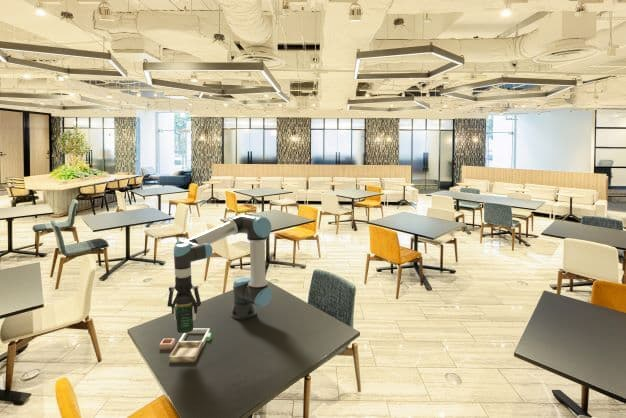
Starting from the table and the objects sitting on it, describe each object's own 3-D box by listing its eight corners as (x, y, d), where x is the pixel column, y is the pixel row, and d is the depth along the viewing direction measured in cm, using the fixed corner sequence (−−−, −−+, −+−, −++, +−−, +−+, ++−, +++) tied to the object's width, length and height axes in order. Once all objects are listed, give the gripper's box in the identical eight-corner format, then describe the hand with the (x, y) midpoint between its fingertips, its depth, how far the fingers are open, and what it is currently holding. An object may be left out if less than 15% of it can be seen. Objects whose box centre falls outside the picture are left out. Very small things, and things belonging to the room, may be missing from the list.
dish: (175, 343, 196) (175, 338, 196) (171, 349, 190) (171, 344, 190) (163, 343, 196) (163, 338, 196) (159, 349, 190) (159, 344, 190)
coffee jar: (194, 332, 181) (192, 296, 178) (176, 335, 179) (175, 298, 176) (193, 323, 190) (192, 289, 187) (177, 326, 188) (175, 291, 185)
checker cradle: (213, 332, 209) (213, 328, 209) (207, 346, 194) (207, 341, 194) (186, 332, 208) (186, 328, 208) (178, 346, 194) (178, 342, 193)
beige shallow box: (202, 346, 194) (202, 341, 193) (195, 362, 180) (195, 356, 179) (178, 346, 193) (178, 341, 193) (169, 362, 179) (168, 356, 179)
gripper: (206, 273, 184) (208, 315, 188) (163, 273, 183) (166, 316, 187) (203, 278, 177) (204, 322, 180) (158, 278, 176) (160, 322, 179)
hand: (185, 319), depth 183 cm, fingers closed on coffee jar, 8 cm apart
